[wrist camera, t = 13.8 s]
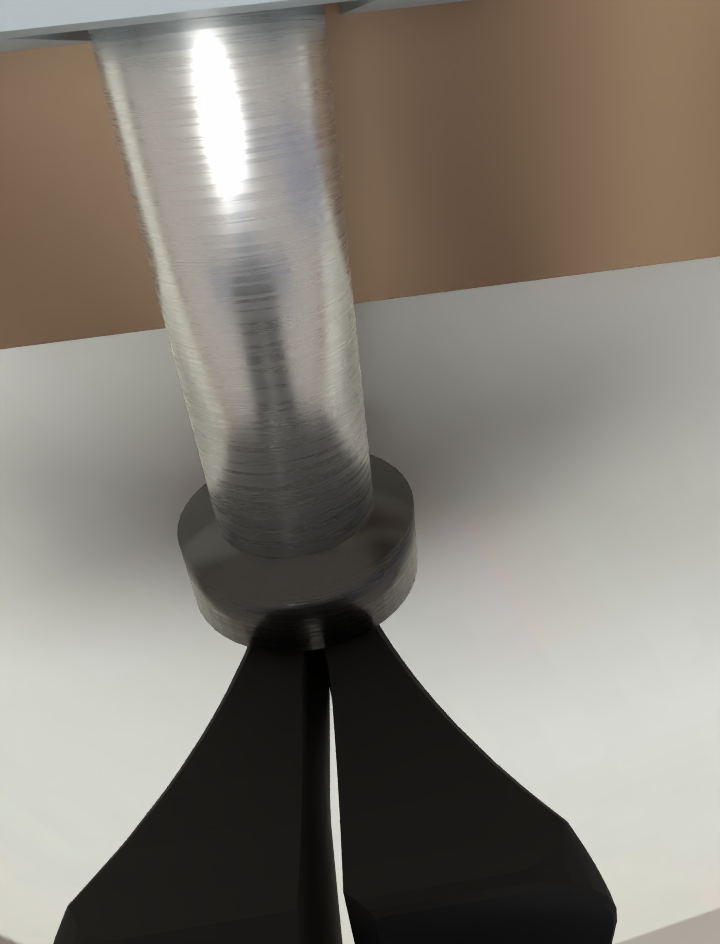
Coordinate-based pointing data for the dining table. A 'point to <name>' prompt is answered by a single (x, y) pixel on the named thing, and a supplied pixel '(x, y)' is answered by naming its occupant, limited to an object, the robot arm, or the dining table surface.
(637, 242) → the walnut board
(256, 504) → the shaft
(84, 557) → the dining table surface
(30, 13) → the block
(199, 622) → the dining table surface
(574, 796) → the dining table surface
